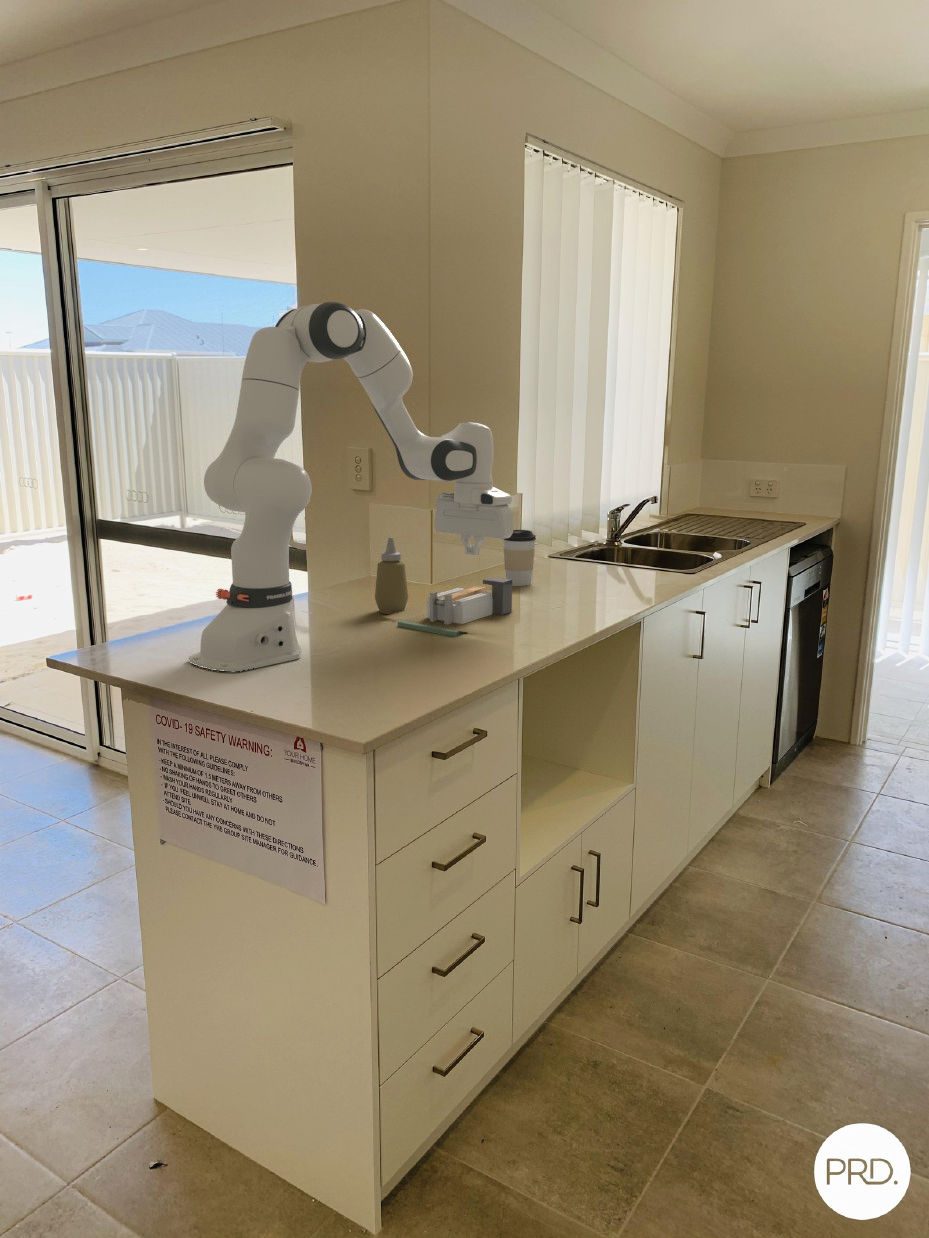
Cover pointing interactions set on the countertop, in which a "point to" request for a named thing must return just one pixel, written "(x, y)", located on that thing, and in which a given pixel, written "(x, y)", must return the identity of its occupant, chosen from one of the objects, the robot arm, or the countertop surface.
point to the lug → (500, 595)
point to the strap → (462, 594)
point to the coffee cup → (519, 557)
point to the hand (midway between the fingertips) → (472, 554)
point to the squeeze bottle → (391, 581)
